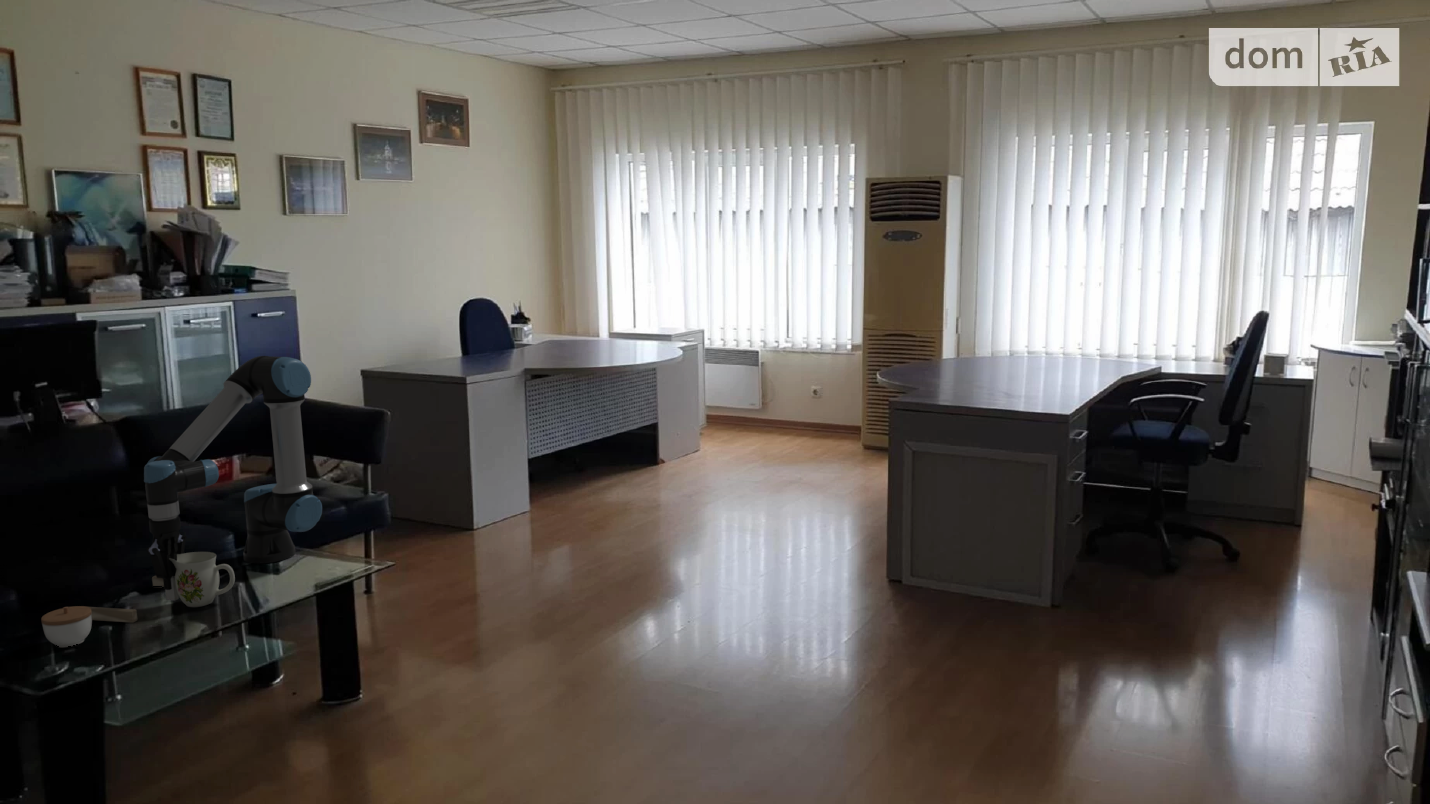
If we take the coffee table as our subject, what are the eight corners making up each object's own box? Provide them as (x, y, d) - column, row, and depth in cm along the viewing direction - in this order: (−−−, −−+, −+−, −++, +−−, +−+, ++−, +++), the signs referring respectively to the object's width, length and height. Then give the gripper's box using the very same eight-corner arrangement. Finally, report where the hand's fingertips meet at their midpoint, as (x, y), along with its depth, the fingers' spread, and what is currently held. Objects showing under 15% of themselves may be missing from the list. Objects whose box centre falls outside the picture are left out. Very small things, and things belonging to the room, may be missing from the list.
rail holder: (157, 585, 298) (155, 575, 298) (202, 587, 296) (201, 577, 295) (84, 619, 272) (82, 608, 271) (133, 622, 269) (131, 611, 269)
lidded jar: (40, 654, 249) (36, 618, 248) (49, 638, 259) (44, 603, 258) (91, 646, 254) (86, 611, 252) (97, 631, 263) (93, 597, 262)
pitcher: (228, 609, 278) (224, 561, 276) (160, 610, 277) (156, 562, 274) (243, 595, 289) (240, 548, 287) (178, 596, 288) (174, 550, 285)
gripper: (169, 510, 285) (177, 590, 289) (134, 523, 272) (143, 606, 276) (192, 511, 283) (200, 592, 287) (159, 524, 271) (167, 608, 275)
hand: (172, 599), depth 282 cm, fingers closed
